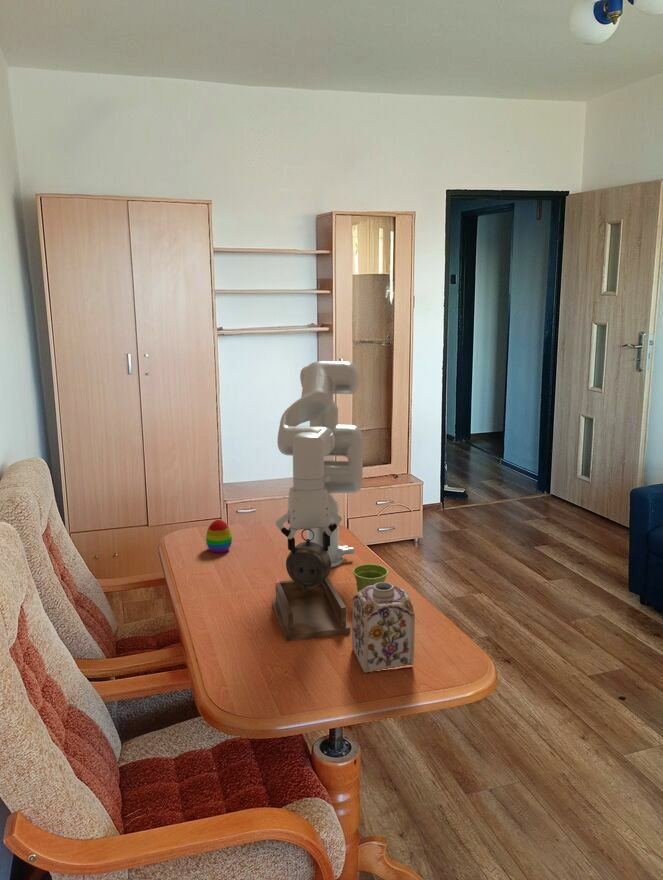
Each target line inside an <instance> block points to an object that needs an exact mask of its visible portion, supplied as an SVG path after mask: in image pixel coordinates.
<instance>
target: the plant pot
mask: <svg viewBox="0 0 663 880" xmlns="http://www.w3.org/2000/svg"><path fill="white" fill-rule="evenodd" d="M352 573H353V575H354V578H355V581H356V590H357V593H358V592H359V591H360V590H362V589H363V588H365V587H367V586H370V585H374V584H376V583H379V582H386V579H387V576H388V575H389V570H388V568H387V567H385V566H384V565H380V564H376V563H364V564H360V565H357V566H355V567H353V569H352Z"/></svg>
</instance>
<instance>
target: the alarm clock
mask: <svg viewBox="0 0 663 880" xmlns="http://www.w3.org/2000/svg"><path fill="white" fill-rule="evenodd" d="M307 530H310V531H311V532H312V533H313V538H314V532H313V531H312V530H311V529H302V530H301V538H302V539H303V540H304V541H302V542H300V543H298V544H297V545H295V554H292V553H291V551H290V552H289V554H288V555H287V557H286V560H285V568H286V569H285V570H286V572H287V574H288V576H289V577H290V580H293V581H294V582H293V585H295V583H297V584H299V585H301V586H303V587H304V589H303V591H304V592H306V588H307V587H315V586H318V585H321V586H322V587H323V588H324V590H326V588H325V586H324V584H323V583H322V582H323V581H324V580H325V578H328V576H329V574H330V572H331V570H332V569H331V560H330V557H329V555H328V553H327V552H326V551H325V550H324V548H323V547H321V546H320V545H318V544H316V543H313V542H310V541H311V540H312V539H313V538H312V539H311V540H310V539H307V538H304V536H303V534H304V532H305V531H307Z"/></svg>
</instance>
